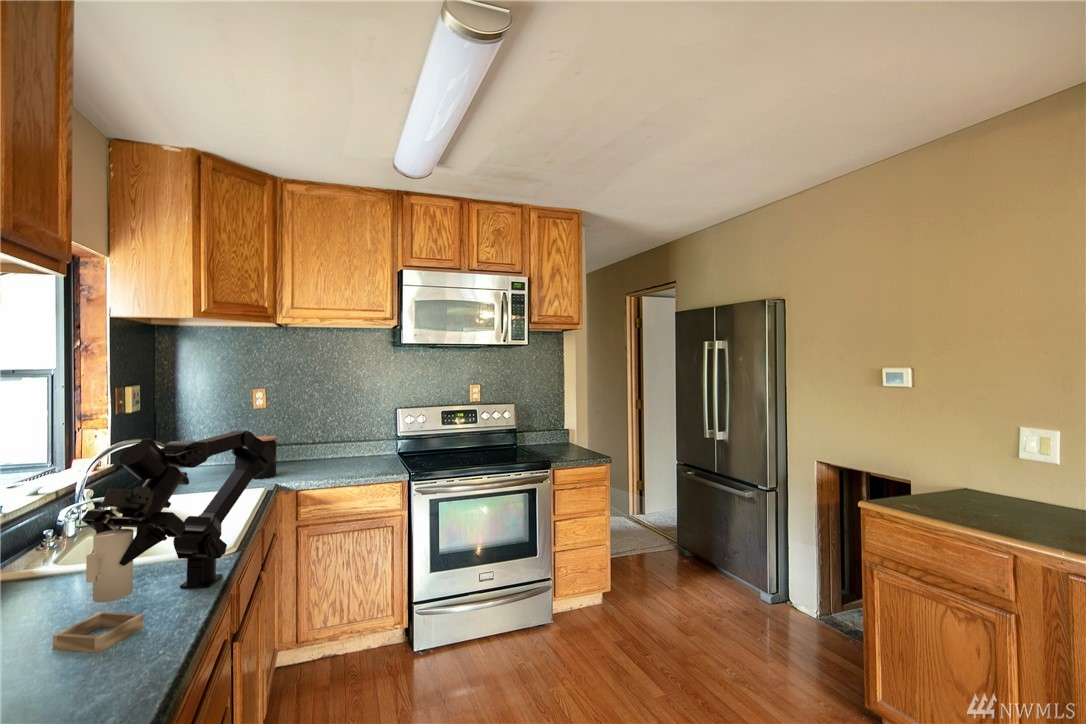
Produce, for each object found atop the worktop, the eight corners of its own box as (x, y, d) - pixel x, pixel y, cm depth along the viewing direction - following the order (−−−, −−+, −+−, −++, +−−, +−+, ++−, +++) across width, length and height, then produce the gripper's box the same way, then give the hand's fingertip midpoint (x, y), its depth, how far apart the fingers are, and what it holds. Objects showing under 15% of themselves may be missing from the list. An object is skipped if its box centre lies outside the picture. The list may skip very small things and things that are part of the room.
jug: (113, 587, 104) (114, 528, 104) (140, 589, 103) (141, 529, 103) (74, 605, 96) (75, 541, 96) (103, 607, 96) (104, 542, 96)
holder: (101, 624, 103) (101, 611, 103) (143, 627, 102) (143, 614, 102) (52, 649, 94) (52, 635, 94) (98, 652, 93) (98, 638, 93)
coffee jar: (268, 479, 231) (268, 439, 231) (244, 479, 231) (245, 439, 231) (280, 474, 242) (281, 436, 242) (258, 474, 242) (258, 435, 242)
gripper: (90, 469, 106) (31, 542, 95) (174, 472, 104) (123, 547, 93) (125, 498, 113) (74, 568, 102) (204, 501, 111) (160, 573, 100)
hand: (106, 564), depth 99 cm, fingers closed on jug, 6 cm apart
